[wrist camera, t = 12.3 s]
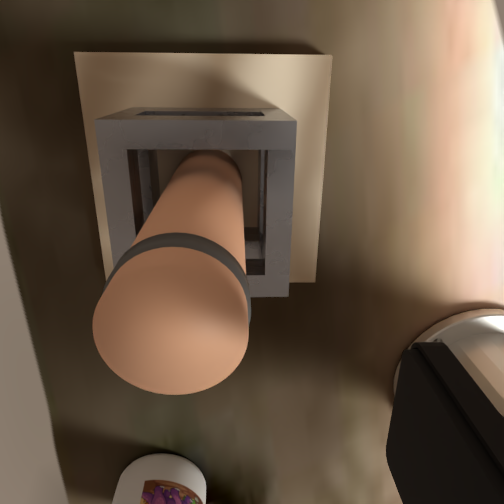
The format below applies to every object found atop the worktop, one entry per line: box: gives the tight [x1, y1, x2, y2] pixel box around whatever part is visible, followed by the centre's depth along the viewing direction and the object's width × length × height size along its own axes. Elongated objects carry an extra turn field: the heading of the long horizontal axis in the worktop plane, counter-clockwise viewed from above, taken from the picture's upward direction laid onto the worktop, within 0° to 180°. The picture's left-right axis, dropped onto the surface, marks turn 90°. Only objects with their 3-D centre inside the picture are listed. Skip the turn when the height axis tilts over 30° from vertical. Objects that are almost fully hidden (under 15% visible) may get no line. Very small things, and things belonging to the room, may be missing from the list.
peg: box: [92, 150, 251, 395], centre depth 18 cm, size 4×4×16 cm
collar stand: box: [74, 52, 332, 297], centre depth 23 cm, size 14×14×8 cm
